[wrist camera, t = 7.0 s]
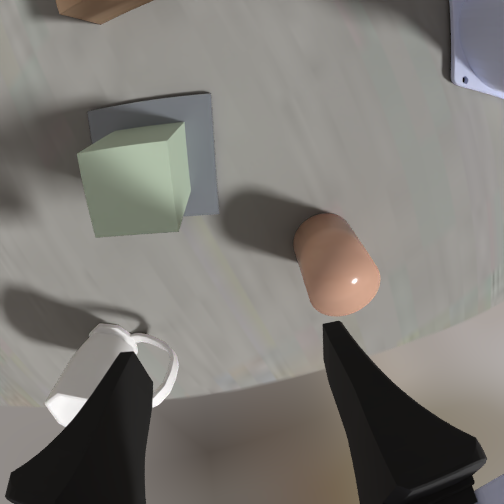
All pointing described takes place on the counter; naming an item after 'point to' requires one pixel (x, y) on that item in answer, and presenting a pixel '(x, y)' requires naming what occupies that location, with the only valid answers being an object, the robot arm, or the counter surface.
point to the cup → (101, 369)
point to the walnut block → (97, 8)
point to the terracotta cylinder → (335, 265)
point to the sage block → (137, 180)
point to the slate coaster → (197, 138)
